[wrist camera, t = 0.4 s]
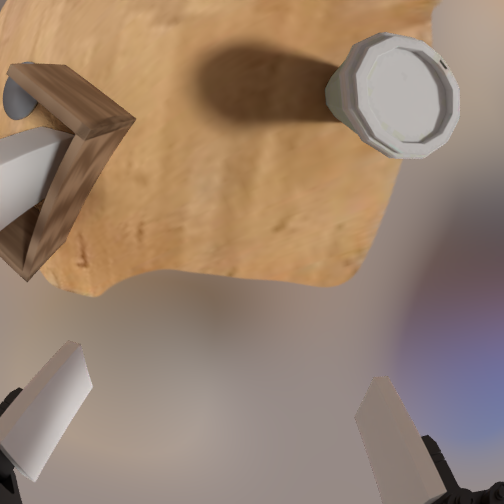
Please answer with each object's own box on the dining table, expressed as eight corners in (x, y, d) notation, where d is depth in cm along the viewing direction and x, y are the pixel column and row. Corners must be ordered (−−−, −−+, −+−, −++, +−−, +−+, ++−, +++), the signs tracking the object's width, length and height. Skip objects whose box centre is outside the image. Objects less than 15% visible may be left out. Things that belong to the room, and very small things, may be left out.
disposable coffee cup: (351, 155, 31) (415, 195, 18) (285, 96, 28) (316, 90, 15) (401, 99, 27) (483, 110, 14) (340, 37, 24) (403, 3, 11)
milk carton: (69, 183, 32) (-24, 252, 15) (35, 171, 30) (-56, 229, 14) (77, 135, 29) (-31, 180, 12) (41, 125, 27) (-62, 165, 11)
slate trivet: (22, 53, 20) (20, 53, 20) (51, 76, 24) (49, 76, 23) (-1, 103, 24) (-4, 104, 23) (25, 129, 27) (22, 130, 26)
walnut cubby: (65, 65, 23) (11, 63, 14) (136, 119, 28) (91, 129, 19) (9, 190, 31) (-34, 219, 22) (65, 241, 36) (27, 282, 27)
